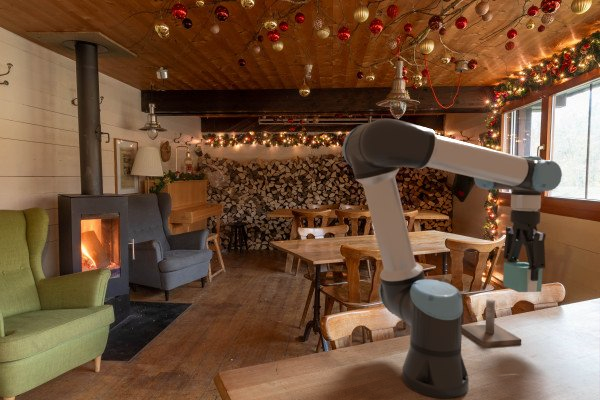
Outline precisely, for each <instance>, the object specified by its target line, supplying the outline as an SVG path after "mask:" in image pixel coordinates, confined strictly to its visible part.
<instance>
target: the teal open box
mask: <svg viewBox="0 0 600 400" xmlns="http://www.w3.org/2000/svg"><path fill="white" fill-rule="evenodd" d="M528 267H529V263H528V262H526V261H525V262H524V261H522V262H521V261H519V262H508V261H507V262H505V261H504V262H503V274H502V276H503V277H502V278H503V279H502V280H503V281H502V286H504V287H505V288H508V289H511V290H513V291H515V292H517V293H528V292H527V291H526V284H527V268H528ZM542 286H543V268H542V269H539V273H538V281H537V292H536V293H540V292H541V293H542Z"/></svg>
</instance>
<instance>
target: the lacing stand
mask: <svg viewBox="0 0 600 400" xmlns="http://www.w3.org/2000/svg"><path fill="white" fill-rule="evenodd" d="M495 307H496V300H494V299H491V298H488V299H487V298H486V300H485V324H476V325H462V333H463V334H464V335H466V336H467V337H469V339H471V340H473V341H474V342H475V343H477V344H479V346H481V347H483V348H489V347H502V346H516V345H517V346H518V345H522V339H521V338H520V337H518V336H517V335H515V334H513V333H511V332H509V331H508V330H506V329H504V328H502V327H501V326H499V325H497V324H495V314H496V313H495V312H496V311H495V310H496V308H495Z"/></svg>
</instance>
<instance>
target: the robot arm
mask: <svg viewBox="0 0 600 400" xmlns="http://www.w3.org/2000/svg"><path fill="white" fill-rule="evenodd" d="M342 144H343V145H342V154H343V158H344V160H345V161H346V163H347V164H348V166H350V167H352V171H353V175H354V179H355V181H356V182H358V183H359V184H361V185H362V186H363V190H364V191H363V192H364V194H365V199H366V202H367V206H368V212H369V214H370V219H371V222H372V226H373V230H374V235H375V238H376V242H377V245H378V246H377V247H378V251H379V255H380V259H381V262H382V267H383V269H382V270H381V272H380V273H379V278H380V282H381V283H379V286H378V295H379V299H380V301H381V303H382V305H383V306H384V307H385V309H387V310H388V311H389V313H391V314H392V315H394V316H395V317H396V318H397V317H398V319H400V320H402V321H403V322H404V323H405V324H407V325H408V326H409V328H410V330H409V333H410V334H409V335H410V336H409V337H410V338H409V339H410V340H409V342H410V343H409V349H408V352H407V355H406V357H405V359H404V362H403V364H402V370H401V371H402V372H401V373H402V374H401V375H402V381H403V383H404V384H405V385H406V386H407V387H409V388H410V389H411V390H413V391H415V392H417V393H419V394H421V395H425V396H428V397H430V398H431V397H432V398H436V399H437V398H438V399H453V398H458V397H461V396H464V395H465V394H466V393H467V392H468V391H469V381H470V379H469V374H468V371H467V367H466V365H465V362H464V358H463V355H462V335H463V334H462V333H463V332H462V326H463V311H464V306H463V297H462V293H461V292H460V290H459V288H457V287H455V286H454V285H452V284H451V283H448V282H445V281H440V280H439V279H438V280H437V279H431V278H430V279H429V278H428V279H426V276H425V272H424V267H423V265H421V264H419V263H418V262H417V261H416V259H415V256H414V250H413V247H412V241H411V239H410V233H409V230H408V226H407V225H408V224H407V222H406V221H407V220H406V218H405V214H404V213H405V212H404V208H403V205H402V201H401V195H400V192H399V187H398V185H397V184H398V183H397V181H396V175H397V174H398V172H399V171H400V168H401V167H402V168H403V167H404V168H412V169H417V170H422V169H424V168H426V167H428V168H431V169H435V170H441V171H445V172H449V173H454V174H458V175H462V176H467V177H471V178H473V181H474V184H475V185H476V186H477V187H478V188H479V189H482V190H483V189H484V190H507V191H508V190H511V196H510V208H511V211H510V216H509V217H510V218H509V219H510V222H511V223H513V225H512V226H506V227H505V241H504V248H503V249H504V251H503V259H504V260H505V259H506V261H507V262H520V260H519V256H520V253H521V250H522V247H523V246H524V248H525V253H526V257H527V263H529V267H528V268H527V284H526V291H527V292H526V293H538V292H537V281H538V273H539V269H542V270H543V269H545V268H546V253H545V248H546V247H545V240H546V233H545V232H540V231H538V228H537V225H539V224H540V223H541V214H542V213H541V211H540V210H541V207H542V204H541V203H542V192H549V191H550V192H551V191H553V190H555V189H557V188H558V186H559V185H560V183H561V182H562V176H563V172H562V168H561V166H560V165H559V164H558V163H557V162H556V161H554V160H549V159H548V160H546V159H543V158H542V157H541V156H538V155H537V156H536V155H530V156H529V155H521V156H520V155H515V154H511V153H507V152H504V151H500V150H495V149H491V148H488V147H485V146H482V145H481V146H480V145H476V144H473V143H469V142H465V141H461V140H456V139H453V138H451V137H450V138H449V137H445V136H441V135H437V134H436V133H435V131H434V130H433V129H432V128H428V127H425V126H421V125H417V124H414V123H411V122H406V121H404V120H399V119H393V118H380V119H379V118H378V119H376V120H374V121H373V120H372V121H371V122H368V123H363V124H360V125H357V126H356V127H355V128H353V129H351V131H349V133H348V134H347V135H346V136H345V139H344V141H343V143H342Z"/></svg>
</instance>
